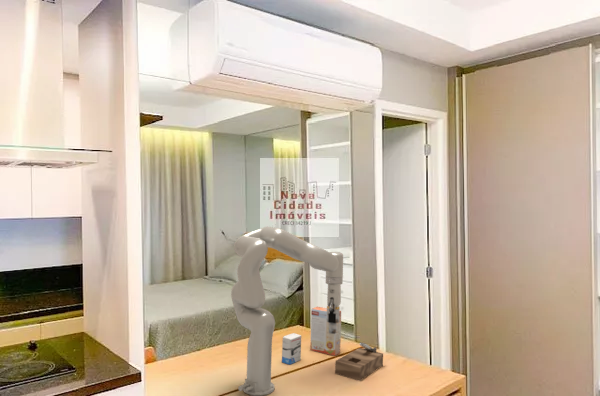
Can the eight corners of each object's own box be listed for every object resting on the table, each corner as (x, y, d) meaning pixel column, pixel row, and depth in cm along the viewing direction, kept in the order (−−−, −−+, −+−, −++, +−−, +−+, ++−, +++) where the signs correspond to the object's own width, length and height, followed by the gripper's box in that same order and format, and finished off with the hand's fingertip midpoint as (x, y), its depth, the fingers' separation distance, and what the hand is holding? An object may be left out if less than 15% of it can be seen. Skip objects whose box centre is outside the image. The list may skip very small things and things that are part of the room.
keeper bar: (365, 346, 204) (366, 343, 204) (358, 344, 206) (359, 342, 206) (373, 352, 210) (374, 349, 211) (367, 350, 212) (367, 347, 213)
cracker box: (340, 352, 224) (342, 310, 223) (334, 356, 218) (336, 312, 218) (315, 347, 231) (317, 305, 231) (309, 350, 226) (311, 308, 226)
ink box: (289, 365, 206) (290, 339, 206) (281, 362, 209) (282, 336, 209) (301, 360, 213) (301, 334, 212) (292, 357, 216) (293, 332, 215)
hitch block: (359, 380, 191) (360, 363, 191) (335, 373, 198) (335, 356, 198) (382, 365, 209) (383, 349, 209) (359, 359, 216) (360, 343, 216)
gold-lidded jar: (337, 335, 200) (338, 308, 200) (325, 333, 201) (326, 307, 201) (339, 331, 205) (340, 305, 205) (327, 330, 207) (328, 304, 206)
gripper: (340, 284, 194) (338, 326, 194) (344, 277, 210) (343, 316, 211) (322, 283, 195) (321, 325, 195) (328, 276, 212) (327, 314, 212)
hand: (332, 320), depth 203 cm, fingers closed on gold-lidded jar, 5 cm apart
